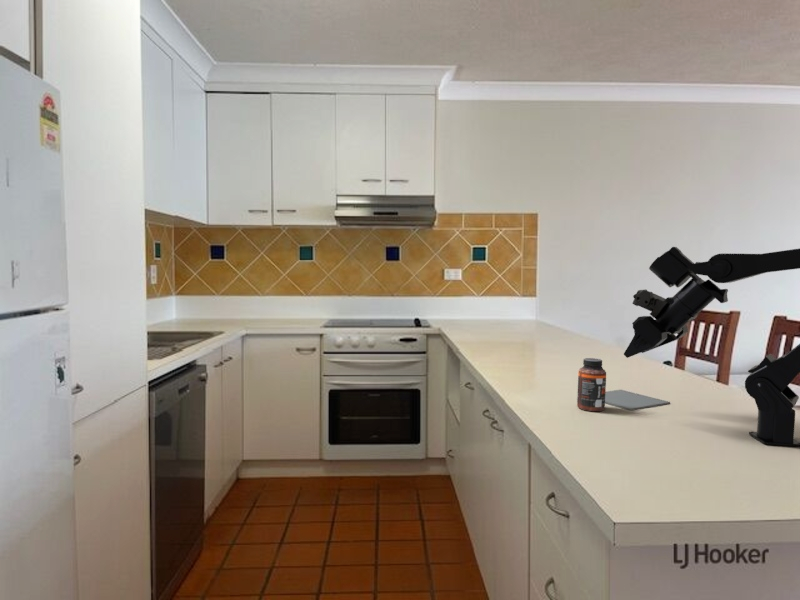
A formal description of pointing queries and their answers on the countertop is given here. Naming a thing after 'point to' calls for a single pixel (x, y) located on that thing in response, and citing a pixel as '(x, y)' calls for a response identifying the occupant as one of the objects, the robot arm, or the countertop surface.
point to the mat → (631, 400)
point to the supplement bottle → (591, 385)
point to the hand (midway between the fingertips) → (633, 353)
